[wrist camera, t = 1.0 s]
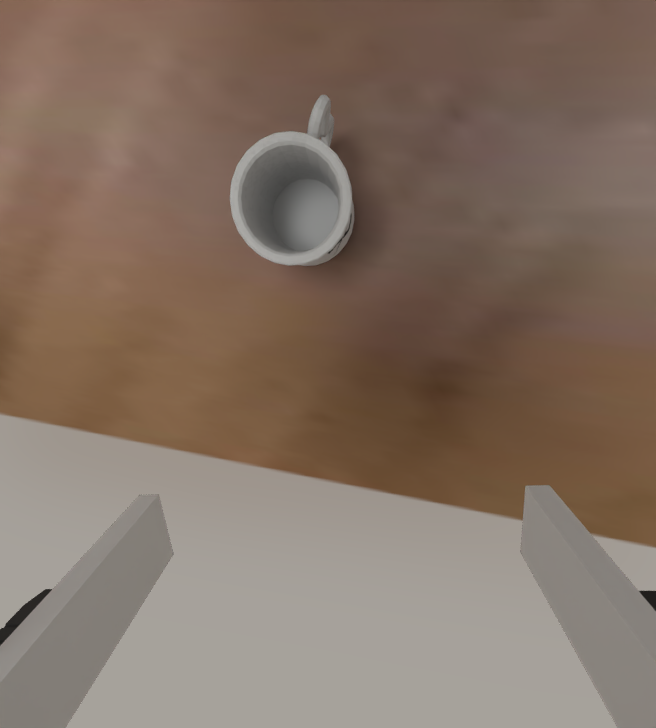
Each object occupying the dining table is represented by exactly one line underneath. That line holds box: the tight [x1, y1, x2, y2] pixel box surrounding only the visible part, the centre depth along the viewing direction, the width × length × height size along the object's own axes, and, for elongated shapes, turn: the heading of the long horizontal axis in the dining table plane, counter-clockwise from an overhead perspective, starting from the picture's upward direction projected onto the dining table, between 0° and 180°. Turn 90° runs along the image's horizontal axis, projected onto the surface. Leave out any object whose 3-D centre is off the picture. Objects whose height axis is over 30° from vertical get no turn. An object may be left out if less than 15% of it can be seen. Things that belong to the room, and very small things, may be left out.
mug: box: [230, 95, 354, 266], centre depth 30 cm, size 12×9×10 cm
